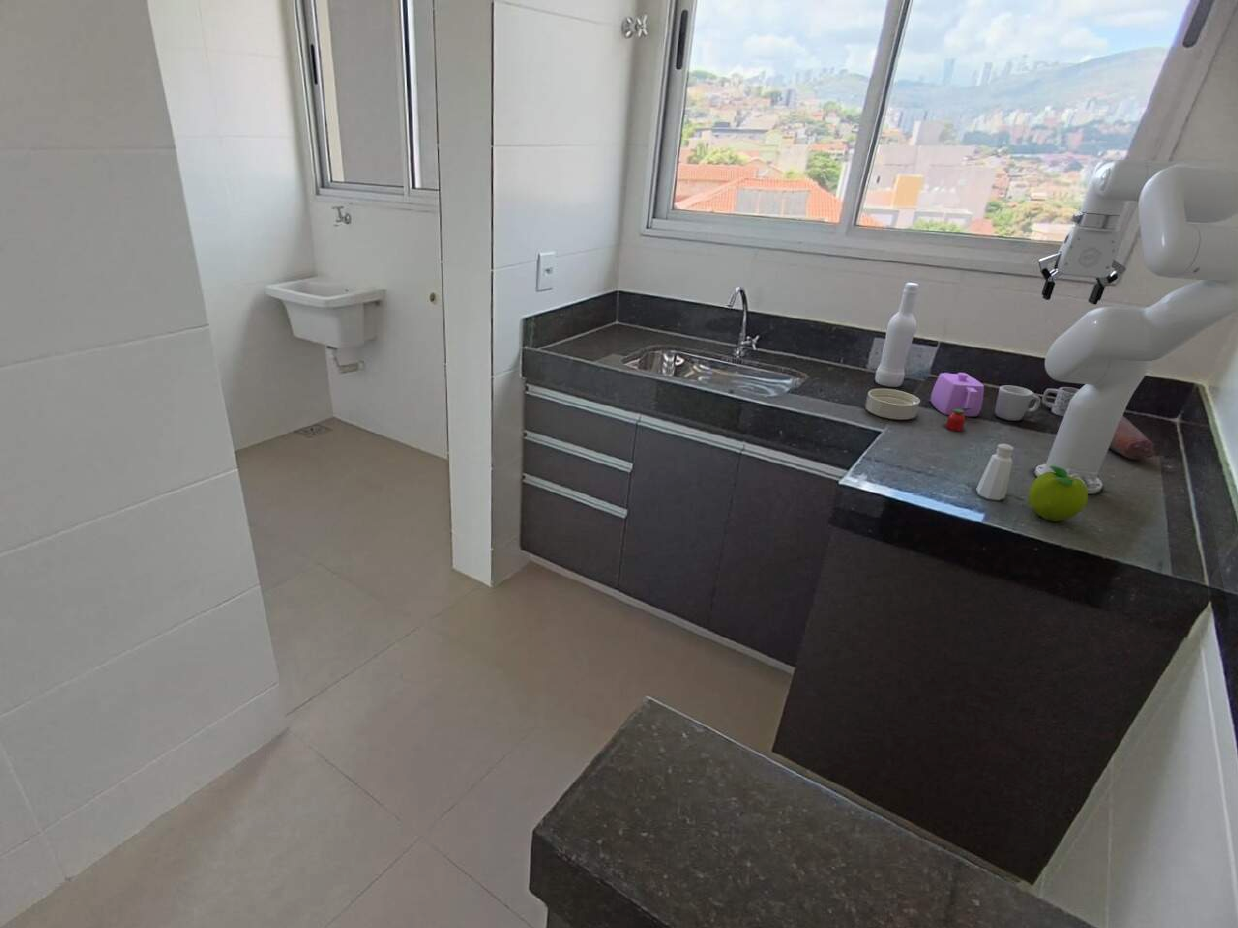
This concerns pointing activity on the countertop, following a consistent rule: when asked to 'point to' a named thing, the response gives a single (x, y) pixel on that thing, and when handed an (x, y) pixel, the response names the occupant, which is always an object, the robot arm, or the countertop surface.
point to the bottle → (898, 341)
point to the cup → (1014, 402)
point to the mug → (1059, 399)
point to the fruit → (1057, 495)
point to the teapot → (957, 394)
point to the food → (1131, 441)
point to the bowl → (892, 404)
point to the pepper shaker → (996, 474)
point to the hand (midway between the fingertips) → (1068, 301)
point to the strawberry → (956, 420)
